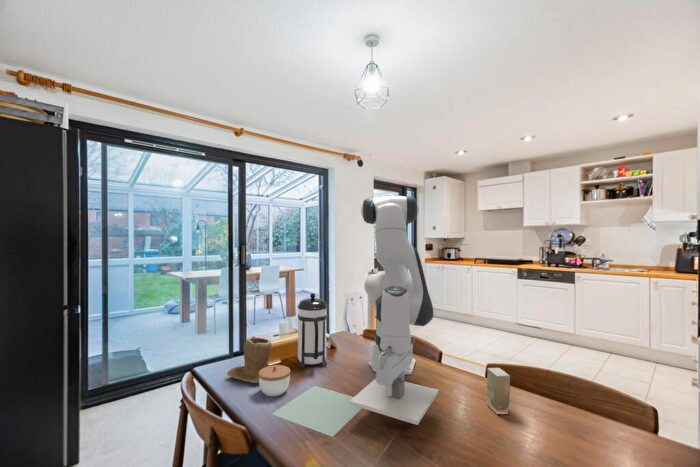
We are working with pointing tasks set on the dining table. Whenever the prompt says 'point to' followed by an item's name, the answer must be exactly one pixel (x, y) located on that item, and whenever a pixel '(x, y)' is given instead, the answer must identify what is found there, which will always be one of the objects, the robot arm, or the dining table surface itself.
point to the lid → (396, 400)
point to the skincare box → (498, 389)
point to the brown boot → (252, 360)
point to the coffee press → (312, 331)
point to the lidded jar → (274, 380)
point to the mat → (319, 410)
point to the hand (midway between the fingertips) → (395, 389)
